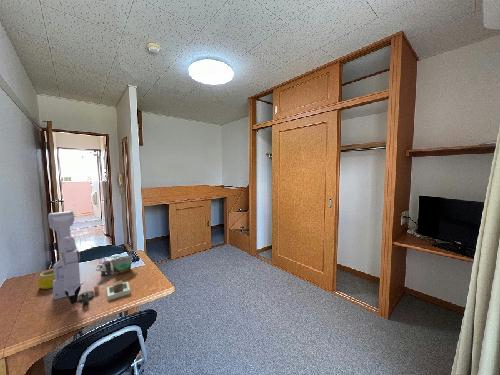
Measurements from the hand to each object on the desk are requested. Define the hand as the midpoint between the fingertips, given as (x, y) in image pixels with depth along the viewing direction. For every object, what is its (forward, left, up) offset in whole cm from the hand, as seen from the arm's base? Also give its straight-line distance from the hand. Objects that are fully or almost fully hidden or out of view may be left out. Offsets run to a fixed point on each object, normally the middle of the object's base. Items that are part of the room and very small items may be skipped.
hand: (74, 302), depth 103 cm
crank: (+4, +4, -2) cm, 6 cm away
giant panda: (+14, +31, -3) cm, 34 cm away
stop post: (+9, +9, -2) cm, 13 cm away
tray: (+18, +2, -2) cm, 19 cm away
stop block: (+18, +2, -2) cm, 18 cm away
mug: (-12, +33, -3) cm, 35 cm away
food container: (+23, +26, -3) cm, 35 cm away
